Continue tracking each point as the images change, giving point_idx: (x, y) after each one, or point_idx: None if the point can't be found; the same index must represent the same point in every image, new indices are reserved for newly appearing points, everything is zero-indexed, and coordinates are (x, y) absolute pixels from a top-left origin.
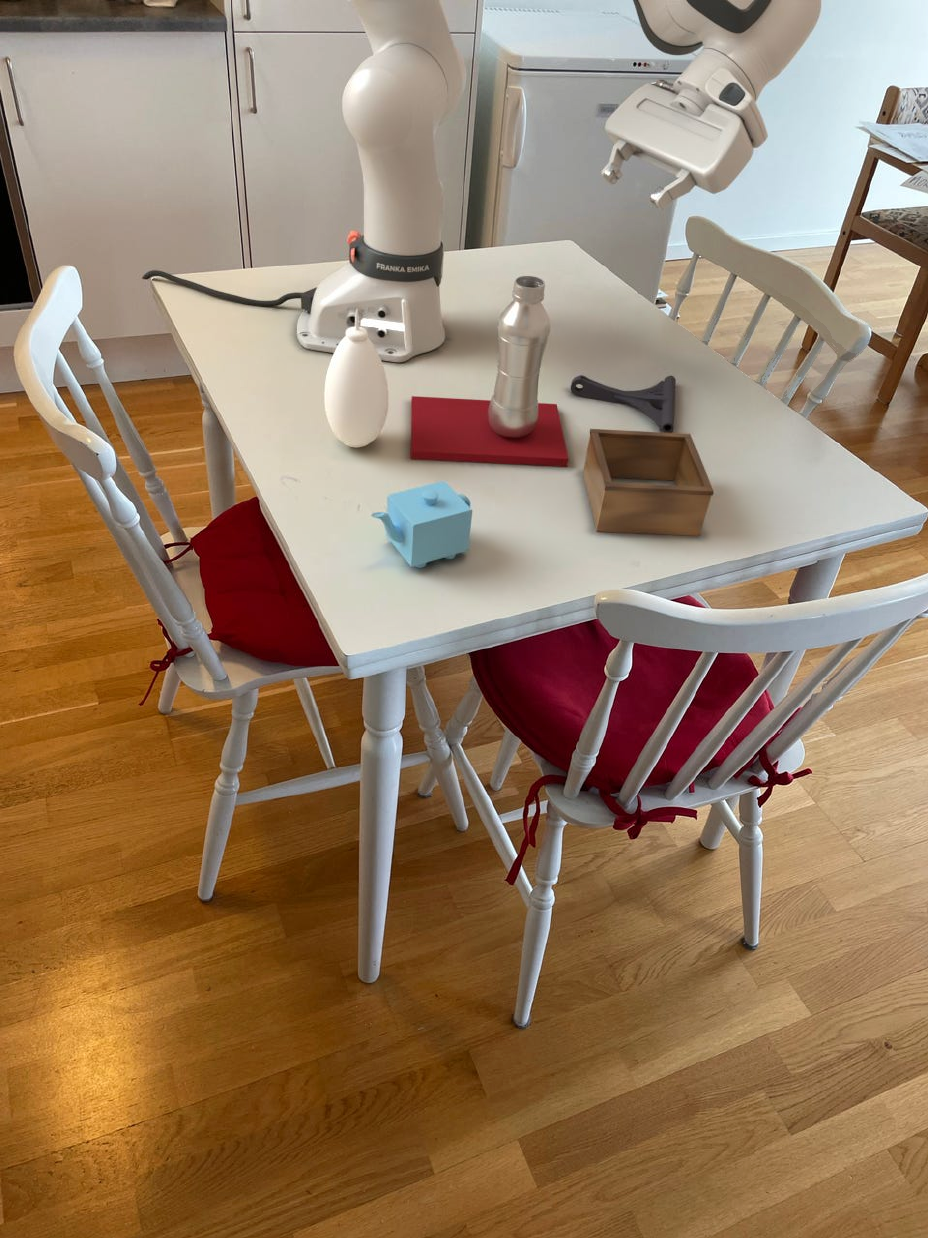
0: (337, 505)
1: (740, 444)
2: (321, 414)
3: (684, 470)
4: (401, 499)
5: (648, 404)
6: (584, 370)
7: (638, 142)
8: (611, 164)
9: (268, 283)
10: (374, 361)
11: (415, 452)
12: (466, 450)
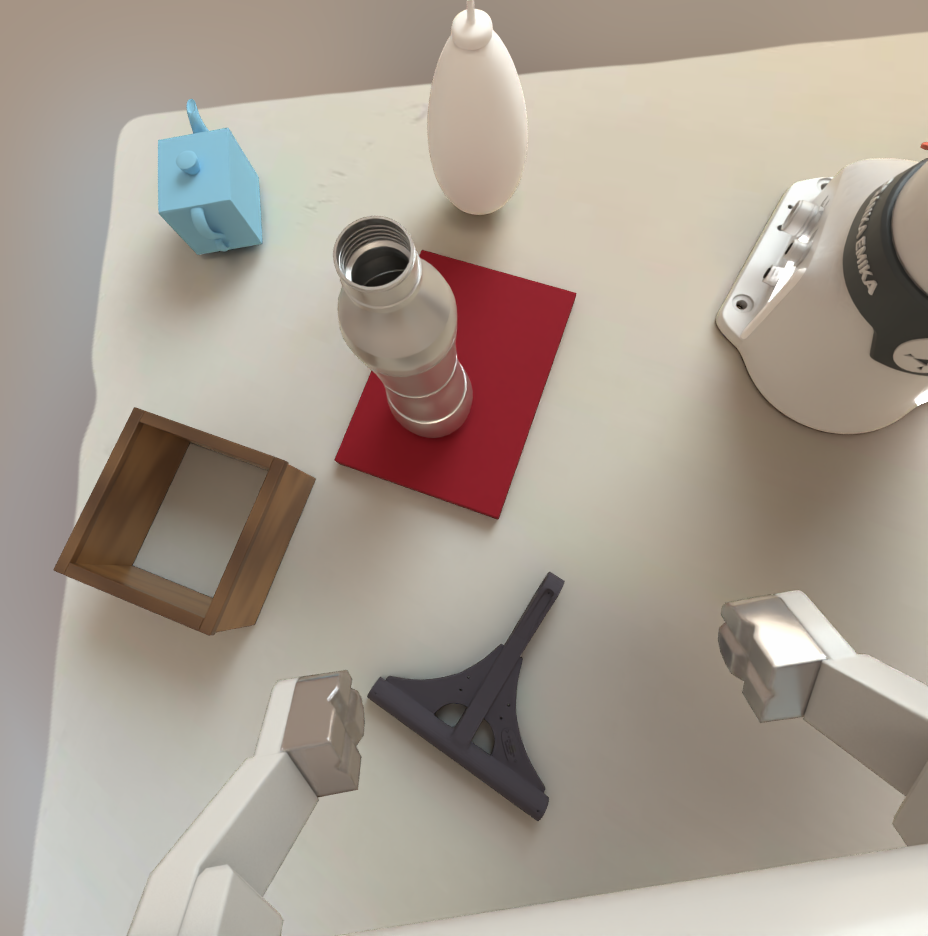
0: (351, 152)
1: None
2: (570, 175)
3: (195, 602)
4: (211, 139)
5: (460, 698)
6: (636, 651)
7: (827, 876)
8: (811, 648)
9: None
10: (441, 90)
11: (419, 255)
12: None
